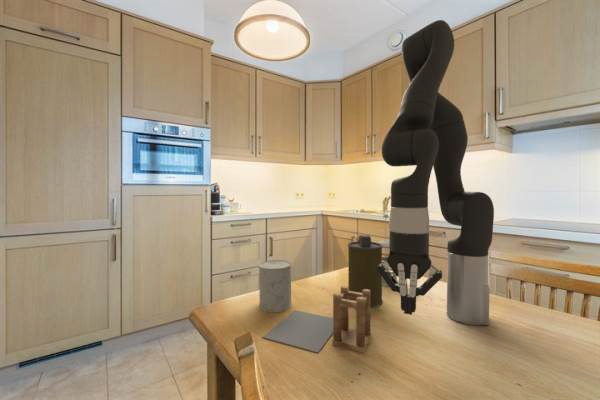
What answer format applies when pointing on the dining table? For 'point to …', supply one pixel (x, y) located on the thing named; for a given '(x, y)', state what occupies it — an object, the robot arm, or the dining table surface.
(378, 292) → the canister
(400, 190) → the robot arm
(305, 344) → the mat
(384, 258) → the french press
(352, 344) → the wooden dowel frame
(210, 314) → the dining table surface
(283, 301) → the grey mottled cylinder
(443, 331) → the dining table surface
